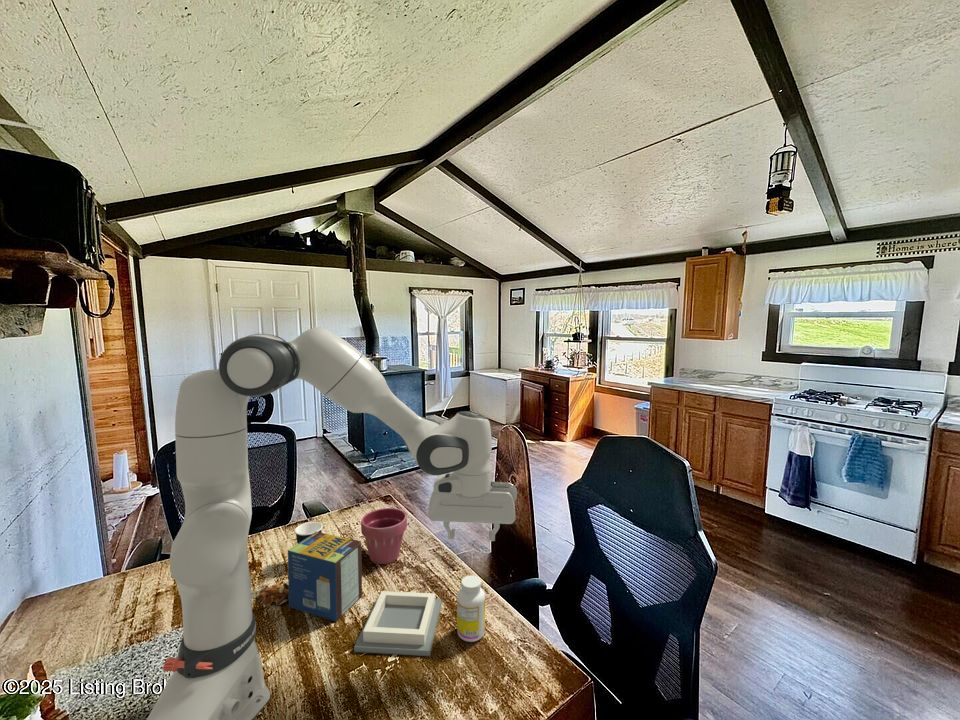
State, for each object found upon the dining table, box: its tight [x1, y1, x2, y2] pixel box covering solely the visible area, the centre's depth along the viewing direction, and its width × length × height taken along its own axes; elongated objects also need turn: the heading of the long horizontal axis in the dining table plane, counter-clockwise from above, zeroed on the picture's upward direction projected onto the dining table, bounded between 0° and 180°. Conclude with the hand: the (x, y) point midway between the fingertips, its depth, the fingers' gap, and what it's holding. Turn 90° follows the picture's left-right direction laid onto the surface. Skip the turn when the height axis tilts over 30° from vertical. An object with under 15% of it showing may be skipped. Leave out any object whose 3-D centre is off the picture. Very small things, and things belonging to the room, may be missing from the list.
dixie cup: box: [294, 521, 324, 544], centre depth 122 cm, size 8×8×11 cm
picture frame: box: [353, 590, 443, 657], centre depth 96 cm, size 17×17×4 cm
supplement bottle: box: [456, 574, 486, 643], centre depth 94 cm, size 7×7×13 cm
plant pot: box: [360, 507, 408, 565], centre depth 125 cm, size 14×14×13 cm
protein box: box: [287, 532, 363, 622], centre depth 104 cm, size 10×15×16 cm
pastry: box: [252, 582, 289, 606], centre depth 106 cm, size 7×12×4 cm, turn 82°
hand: (471, 538), depth 93 cm, fingers open, 8 cm apart
